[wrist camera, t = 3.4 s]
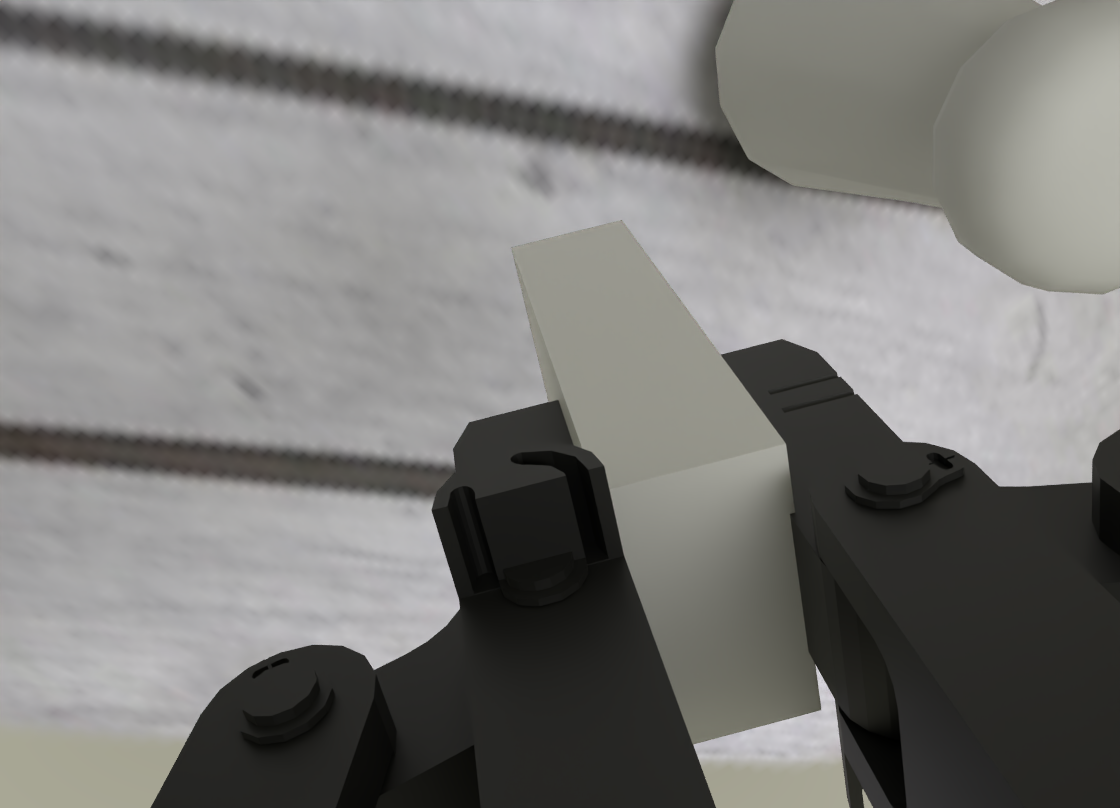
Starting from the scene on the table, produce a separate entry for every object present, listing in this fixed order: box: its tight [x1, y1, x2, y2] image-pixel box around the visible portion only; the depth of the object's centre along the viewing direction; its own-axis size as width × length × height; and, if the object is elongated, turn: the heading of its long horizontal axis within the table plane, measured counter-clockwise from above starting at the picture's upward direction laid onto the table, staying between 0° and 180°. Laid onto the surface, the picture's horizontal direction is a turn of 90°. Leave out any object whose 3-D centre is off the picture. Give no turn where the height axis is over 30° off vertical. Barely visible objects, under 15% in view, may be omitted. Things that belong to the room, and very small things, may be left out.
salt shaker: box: [715, 0, 1120, 294], centre depth 21 cm, size 6×6×13 cm
